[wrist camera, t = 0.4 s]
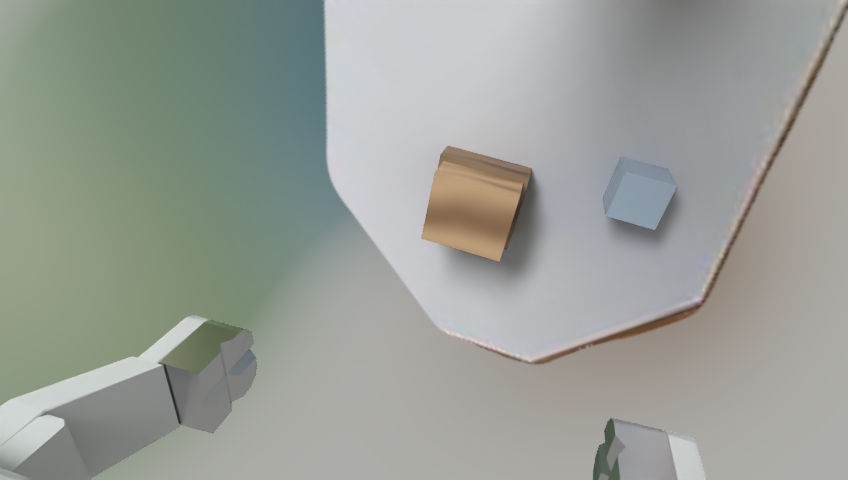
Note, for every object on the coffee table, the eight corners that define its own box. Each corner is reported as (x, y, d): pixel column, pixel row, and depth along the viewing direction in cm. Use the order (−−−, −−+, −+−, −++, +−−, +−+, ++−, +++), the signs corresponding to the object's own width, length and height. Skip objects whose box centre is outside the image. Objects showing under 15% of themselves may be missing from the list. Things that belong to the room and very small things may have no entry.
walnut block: (448, 144, 55) (440, 154, 51) (531, 167, 53) (529, 179, 50) (433, 211, 59) (425, 225, 56) (510, 234, 58) (506, 249, 55)
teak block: (443, 160, 52) (434, 172, 48) (523, 182, 50) (520, 196, 47) (430, 223, 56) (421, 238, 52) (503, 244, 54) (499, 261, 51)
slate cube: (620, 156, 50) (625, 171, 46) (668, 169, 49) (677, 186, 45) (603, 197, 53) (605, 216, 48) (647, 210, 52) (654, 230, 48)
